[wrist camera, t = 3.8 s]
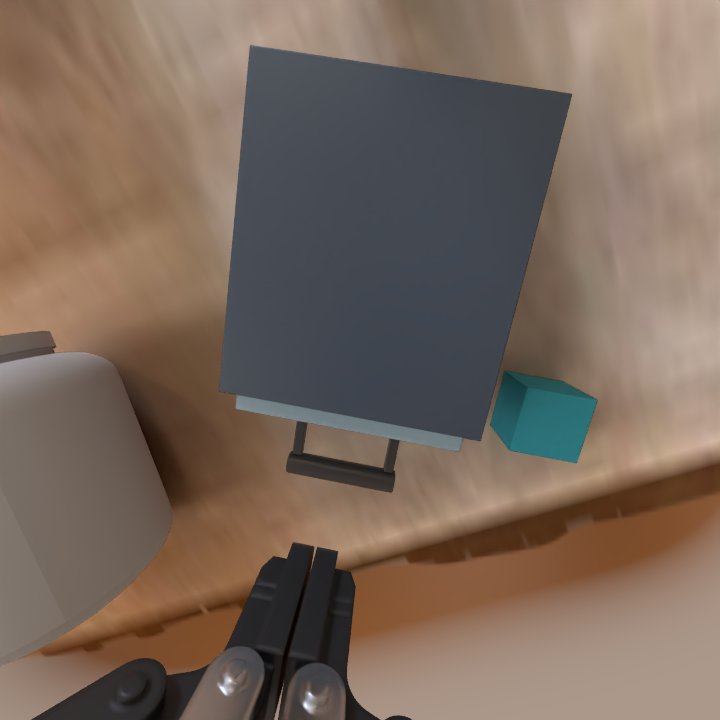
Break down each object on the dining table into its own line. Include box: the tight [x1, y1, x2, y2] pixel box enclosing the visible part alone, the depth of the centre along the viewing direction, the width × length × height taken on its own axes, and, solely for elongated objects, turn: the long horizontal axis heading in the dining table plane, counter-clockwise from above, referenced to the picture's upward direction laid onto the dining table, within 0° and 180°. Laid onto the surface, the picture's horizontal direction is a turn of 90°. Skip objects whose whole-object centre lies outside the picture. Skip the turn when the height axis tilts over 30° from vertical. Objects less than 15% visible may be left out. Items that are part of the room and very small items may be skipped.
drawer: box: [236, 395, 463, 493], centre depth 22 cm, size 20×13×8 cm, turn 170°
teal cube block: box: [490, 371, 597, 463], centre depth 25 cm, size 4×4×4 cm
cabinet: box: [219, 45, 572, 441], centre depth 21 cm, size 16×14×10 cm
